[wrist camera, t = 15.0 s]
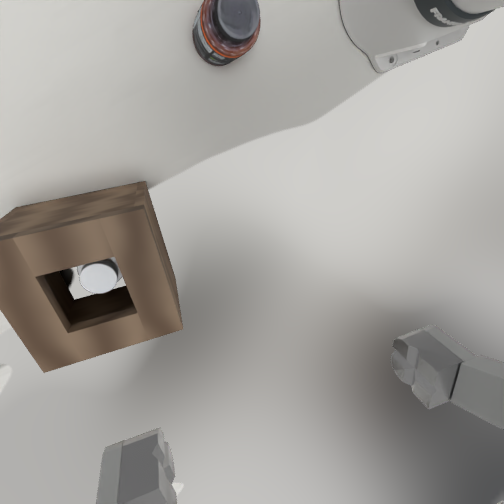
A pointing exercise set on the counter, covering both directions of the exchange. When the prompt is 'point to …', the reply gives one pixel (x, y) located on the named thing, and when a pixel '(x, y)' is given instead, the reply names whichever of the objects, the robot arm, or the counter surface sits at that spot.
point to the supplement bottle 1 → (99, 275)
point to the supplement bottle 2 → (226, 29)
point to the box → (79, 253)
